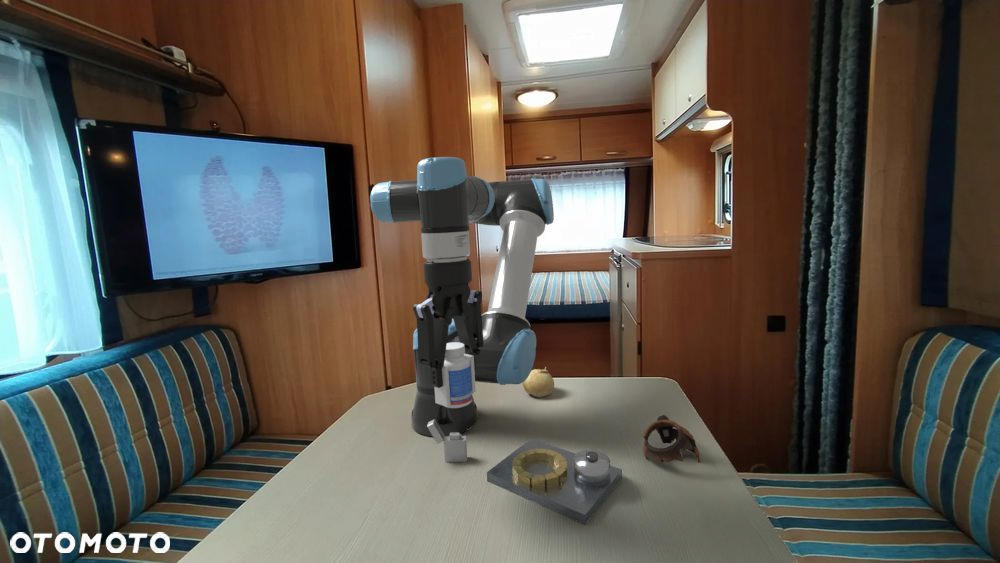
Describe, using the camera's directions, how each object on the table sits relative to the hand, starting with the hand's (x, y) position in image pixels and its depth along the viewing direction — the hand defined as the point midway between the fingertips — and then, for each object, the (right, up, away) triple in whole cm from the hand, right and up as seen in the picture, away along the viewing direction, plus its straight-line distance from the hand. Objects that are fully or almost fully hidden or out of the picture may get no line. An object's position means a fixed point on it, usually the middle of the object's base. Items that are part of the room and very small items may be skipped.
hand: (456, 397), depth 72 cm
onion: (+17, -10, +40) cm, 44 cm away
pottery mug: (+39, -14, +9) cm, 43 cm away
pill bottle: (0, -1, 0) cm, 1 cm away
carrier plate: (+17, -15, +4) cm, 23 cm away
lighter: (-3, -15, +11) cm, 19 cm away
